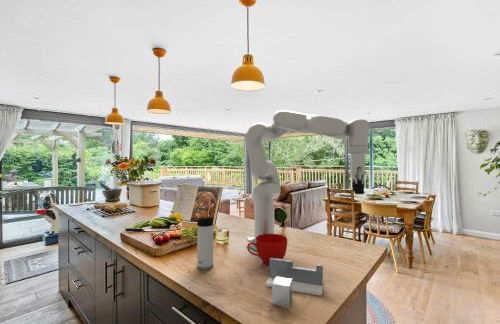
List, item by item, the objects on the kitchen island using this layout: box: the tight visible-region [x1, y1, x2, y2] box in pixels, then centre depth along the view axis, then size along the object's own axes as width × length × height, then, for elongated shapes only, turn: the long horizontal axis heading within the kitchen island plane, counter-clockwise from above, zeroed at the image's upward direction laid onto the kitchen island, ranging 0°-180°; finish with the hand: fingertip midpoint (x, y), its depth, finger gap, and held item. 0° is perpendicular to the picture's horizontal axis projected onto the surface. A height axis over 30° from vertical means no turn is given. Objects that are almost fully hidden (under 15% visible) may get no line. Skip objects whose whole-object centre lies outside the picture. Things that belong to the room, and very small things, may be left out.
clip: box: [271, 276, 293, 308], centre depth 76 cm, size 5×5×6 cm
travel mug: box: [196, 216, 214, 271], centre depth 100 cm, size 6×7×20 cm
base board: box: [265, 277, 324, 296], centre depth 87 cm, size 18×10×1 cm, turn 71°
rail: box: [269, 258, 324, 287], centre depth 87 cm, size 18×1×6 cm, turn 71°
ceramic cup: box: [246, 233, 288, 266], centre depth 104 cm, size 13×17×10 cm
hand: (357, 192), depth 103 cm, fingers open, 9 cm apart
